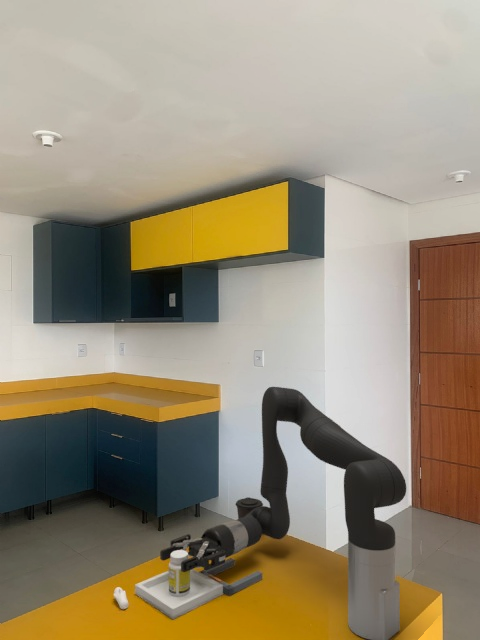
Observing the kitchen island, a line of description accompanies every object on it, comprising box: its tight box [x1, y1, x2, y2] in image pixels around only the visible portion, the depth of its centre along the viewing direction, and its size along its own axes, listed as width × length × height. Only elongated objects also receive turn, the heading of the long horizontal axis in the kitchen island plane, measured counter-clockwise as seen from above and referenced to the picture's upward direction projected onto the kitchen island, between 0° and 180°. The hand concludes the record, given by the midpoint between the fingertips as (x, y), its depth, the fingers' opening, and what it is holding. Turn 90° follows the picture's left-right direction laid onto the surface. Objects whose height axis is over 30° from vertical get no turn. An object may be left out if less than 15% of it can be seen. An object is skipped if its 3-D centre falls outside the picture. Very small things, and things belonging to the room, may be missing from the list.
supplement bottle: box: [168, 549, 190, 596], centre depth 114 cm, size 5×5×8 cm
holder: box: [198, 557, 263, 597], centre depth 121 cm, size 11×11×2 cm
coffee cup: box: [235, 497, 264, 519], centre depth 147 cm, size 8×8×10 cm
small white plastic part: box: [113, 586, 129, 610], centre depth 109 cm, size 4×6×3 cm, turn 6°
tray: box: [134, 568, 224, 620], centre depth 114 cm, size 14×14×2 cm
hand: (171, 561), depth 112 cm, fingers open, 7 cm apart
